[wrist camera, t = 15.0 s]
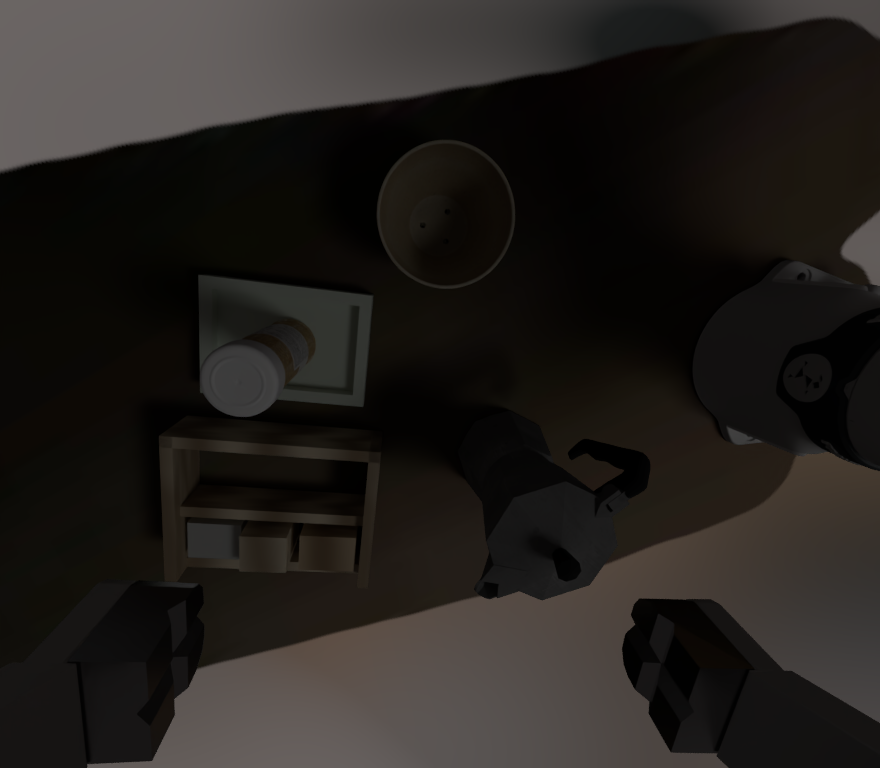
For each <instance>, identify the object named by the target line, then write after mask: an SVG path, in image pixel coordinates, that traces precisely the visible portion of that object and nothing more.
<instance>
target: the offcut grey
mask: <svg viewBox="0 0 880 768" xmlns="http://www.w3.org/2000/svg"><path fill="white" fill-rule="evenodd" d="M248 521H249V520H237V519H218V518H199V517H192V518H191V519H190V520H189V521H188V523H187V531H188V557H191V558H214V559H237V560H239V536H240V534H241V533H242V531H243V529H244V527H245V526H246V524H247V522H248Z"/></svg>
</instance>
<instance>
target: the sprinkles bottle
mask: <svg viewBox="0 0 880 768" xmlns="http://www.w3.org/2000/svg"><path fill="white" fill-rule="evenodd" d="M315 349H316V341H315V337H314V335H313V333H312V331H311V330H310V329H309V327H307V326H306V325H305V324H304V323H302V322H300V321H298V320H294V319H282V320H279V321H277V322H274V323H273V324H272V325H270V326H267V327H265V328H263V329H261V330H258V331H256V332H254V333H252V334H250V335H248V336H246V337H244V338H242V339H241V340H234V341H231V342H229V343H226V344H224V345H222V346H220V347H218V348H217V349H215V350H214V351H212V352H211V353H210V354H209V355H208V356H207V357H206V359H205V360H204V362H203V364H202V366H201V370H200V385H201V389H202V391H203V393H204V395H205V397H206V398H207V400H208V401H209V402H210V403H211V404H212V405H213V406H214V407H215V408H216V409H218V410H219V411H221V412H223V413H225V414H228V415H231V416H236V417H249V416H254V415H257V414H259V413H261V412H263V411H265V410H266V409H267V408H269V407H270V406H271V405H272V404H273V403H274V402H275V401H276V399H277V398H278V397H279V396H280V394H281V393H282V390H283V388H284V387H285V386H286V385H287V383H289V382H290V381H291V380H292V379H293V378H294V377H295V376H296V375H297V374H298V373H299V372H300V371H301V370H302V369H303V367H304V366H305V365H306V364H307V363H308V362H310V361H311V359H312V358H313V356H314V353H315Z"/></svg>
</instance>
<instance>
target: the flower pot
mask: <svg viewBox="0 0 880 768" xmlns="http://www.w3.org/2000/svg"><path fill="white" fill-rule="evenodd" d="M446 209H447V213H445V210H446ZM514 225H515V205H514V198H513V194H512V191H511V188H510V185H509V183H508V181H507V179H506V177H505V175H504V173H503V172H502V170H501V169H500V168H499V166H498V165H497V164H496V163H495V162H494V160H493V159H492V158H490V157H489V156H488V155H487V154H485V153H484V152H483V151H481V150H480V149H478V148H476V147H474V146H472V145H470V144H467V143H464V142H460V141H455V140H435V141H430V142H427V143H424V144H421V145H419V146H417V147H415V148H413V149H411V150H410V151H408V152H407V153H405V154H404V155H403V156H402V157H401V158H400V159H399V160H398V161H397V162H396V163H395V164H394V165H393V166H392V168H391V169H390V171H389V172H388V174H387V175H386V177H385V179H384V181H383V184H382V187H381V189H380V193H379V196H378V202H377V226H378V231H379V235H380V238H381V241H382V244H383V246H384V248H385V250H386V252H387V254H388V255H389V257H390V258H391V260H392V261H393V263H394V264H395V265H396V266H397V267H398V268H399V269H400V270H401V271H402V272H403V273H404V274H406V275H407V276H409V277H410V278H411V279H413V280H415V281H417V282H419V283H421V284H423V285H426V286H430V287H434V288H442V289H451V288H459V287H463V286H467V285H469V284H472V283H474V282H476V281H478V280H480V279H482V278H483V277H484V276H486V275H487V274H488V273H490V272H491V271H492V270H493V269H494V268H495V267H496V266H497V264H498V263H499V262H500V261H501V259H502V258H503V256H504V254H505V253H506V251H507V249H508V247H509V244H510V242H511V238H512V235H513V231H514ZM421 226H425V227H424V228H421ZM446 239H447V240H448V242H446Z"/></svg>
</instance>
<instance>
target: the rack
mask: <svg viewBox="0 0 880 768" xmlns="http://www.w3.org/2000/svg"><path fill="white" fill-rule="evenodd" d="M382 434H383V431H373V430H361V429H349V428H336V427H324V426H312V425H299V424H287V423H275V422H263V421H250V420H238V419H226V418H213V417H201V416H189V415H187V416H186V417H184V418H183V419H182V420H180V421H179V422H177V423H176V424H175V425H173V426H172V427H170V428H169V429H168V430H166V431H165V432H164V433H162V434H161V435H159V454H160V478H161V502H162V525H163V549H164V572H165V581H173V582H177V581H178V579H179V578H180V576H181V575H182V573H183V572H184V570H185V569H186V568H187V567H208V568H234V569H239V560H237V559H214V558H191V557H188V531H187V523H188V521H189V520H190V519H191V518H192V517H199V518H218V519H237V520H256V521H275V522H294V523H313V524H331V525H350V526H363V527H362V538H361V546H358V545H357V548H356V555H355V562H354V570H353V572H351V571H322V570H298V565H299V543H296V545H295V548H294V551H293V554H292V556H291V559H290V562H289V565H288V568H287V570H286V571H311V572H337V573H358V582H357V588H368V579H369V569H370V559H371V549H372V539H373V529H374V519H375V509H376V498H377V488H378V478H379V468H380V458H381V447H382ZM199 450H203V451H217V452H231V453H245V454H259V455H273V456H287V457H301V458H315V459H329V460H343V461H357V462H368V473H367V484H366V494H365V495H364V494H348V493H332V492H316V491H300V490H284V489H268V488H252V487H236V486H220V485H204V484H200V462H199Z"/></svg>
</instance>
